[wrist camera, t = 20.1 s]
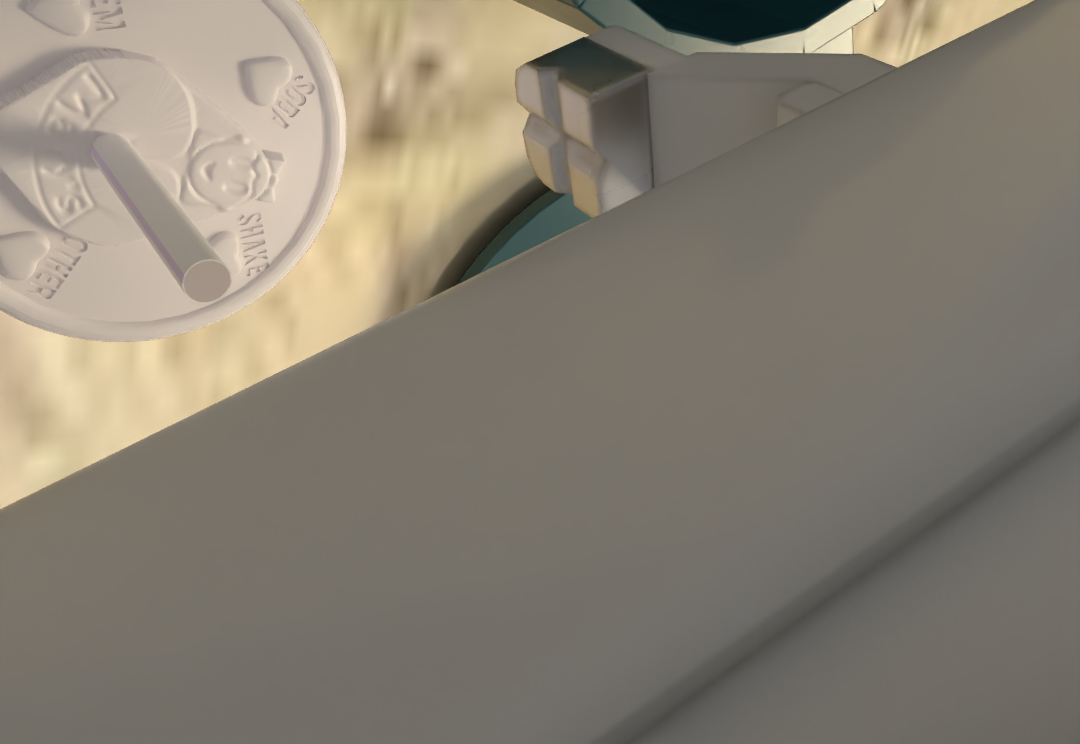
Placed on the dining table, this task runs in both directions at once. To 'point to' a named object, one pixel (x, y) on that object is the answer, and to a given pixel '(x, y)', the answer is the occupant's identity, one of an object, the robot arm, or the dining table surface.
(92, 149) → the smoothie
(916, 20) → the dining table surface
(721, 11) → the pot
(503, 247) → the lid
